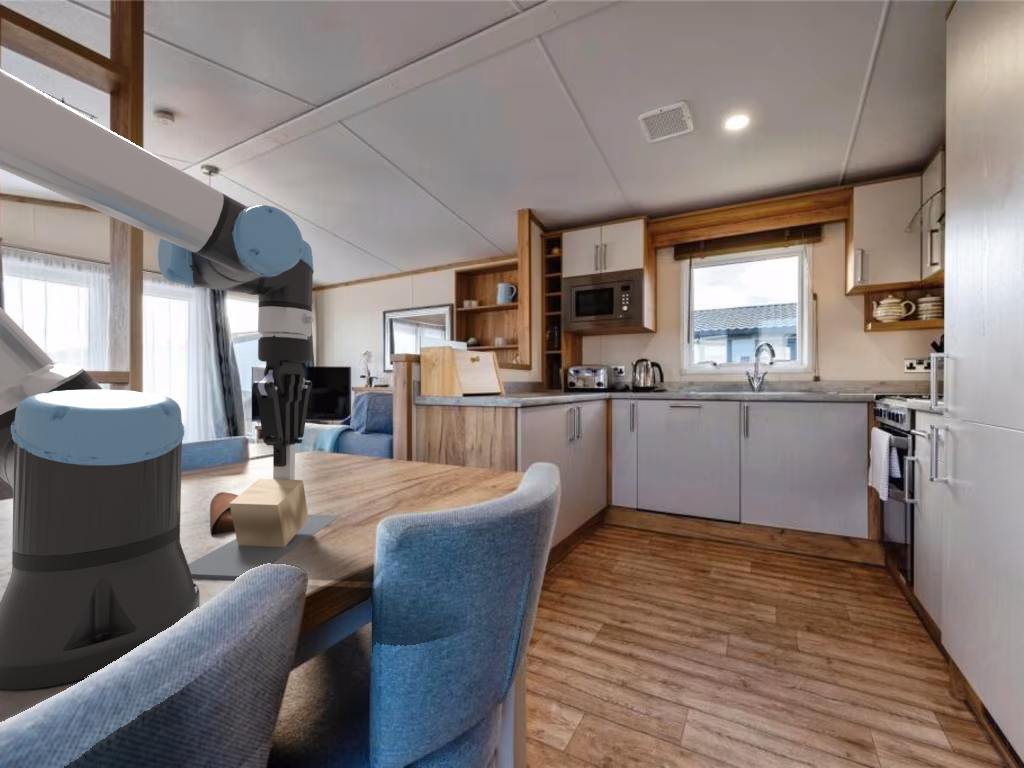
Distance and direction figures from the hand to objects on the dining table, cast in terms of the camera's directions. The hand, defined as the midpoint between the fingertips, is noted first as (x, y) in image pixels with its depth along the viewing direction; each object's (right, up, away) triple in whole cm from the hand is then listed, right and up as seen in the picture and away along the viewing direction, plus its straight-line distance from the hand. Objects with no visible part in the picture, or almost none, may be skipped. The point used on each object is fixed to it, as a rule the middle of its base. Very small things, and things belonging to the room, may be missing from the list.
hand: (284, 485), depth 69 cm
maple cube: (0, -2, 0) cm, 2 cm away
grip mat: (0, -8, -3) cm, 9 cm away
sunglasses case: (-12, -9, +8) cm, 17 cm away
